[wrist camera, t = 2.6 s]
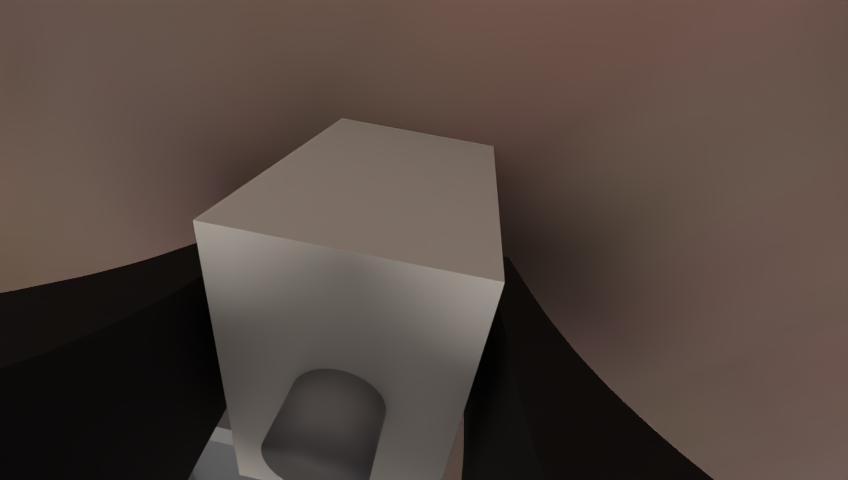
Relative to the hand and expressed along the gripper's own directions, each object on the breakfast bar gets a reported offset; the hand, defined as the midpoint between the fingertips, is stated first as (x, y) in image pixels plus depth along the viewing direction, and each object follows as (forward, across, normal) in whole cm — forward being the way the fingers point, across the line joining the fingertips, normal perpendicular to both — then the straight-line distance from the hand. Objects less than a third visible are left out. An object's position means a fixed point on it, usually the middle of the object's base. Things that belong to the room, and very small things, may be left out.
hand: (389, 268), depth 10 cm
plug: (+2, 0, 0) cm, 2 cm away
